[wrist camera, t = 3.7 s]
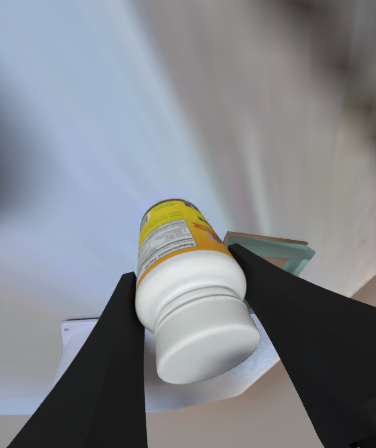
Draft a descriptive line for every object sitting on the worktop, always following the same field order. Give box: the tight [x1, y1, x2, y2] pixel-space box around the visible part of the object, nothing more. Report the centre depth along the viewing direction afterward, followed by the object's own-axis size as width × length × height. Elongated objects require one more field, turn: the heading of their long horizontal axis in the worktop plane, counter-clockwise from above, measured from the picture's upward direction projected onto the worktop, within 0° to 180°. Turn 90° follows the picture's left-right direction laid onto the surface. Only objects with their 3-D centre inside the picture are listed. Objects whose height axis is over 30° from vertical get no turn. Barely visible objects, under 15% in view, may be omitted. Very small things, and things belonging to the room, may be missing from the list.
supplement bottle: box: [135, 198, 261, 384], centre depth 10 cm, size 6×6×10 cm
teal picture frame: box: [223, 231, 316, 314], centre depth 20 cm, size 12×12×2 cm
